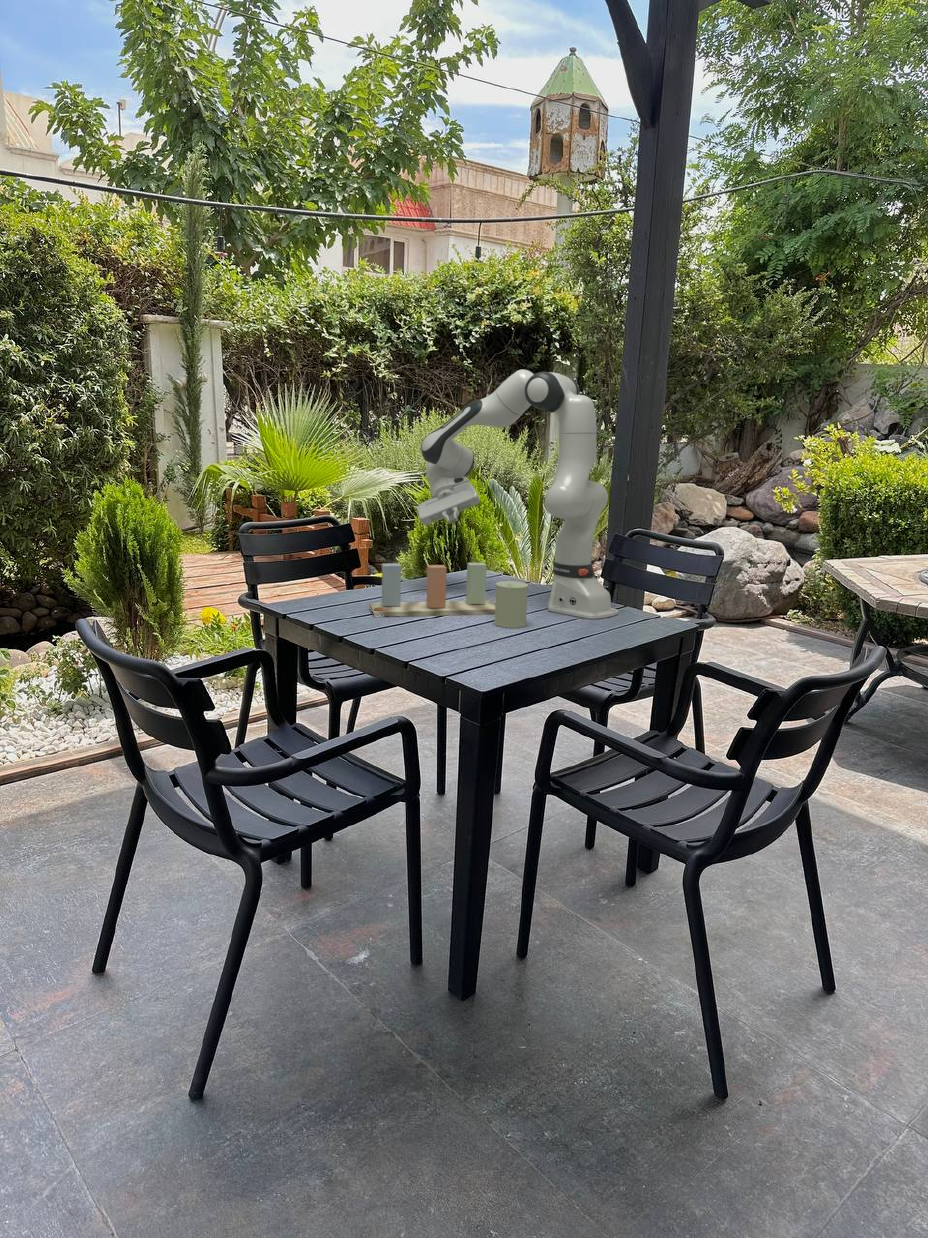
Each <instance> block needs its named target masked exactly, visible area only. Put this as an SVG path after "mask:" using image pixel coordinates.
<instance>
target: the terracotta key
mask: <svg viewBox="0 0 928 1238" xmlns="http://www.w3.org/2000/svg"><path fill="white" fill-rule="evenodd" d="M446 601H447V567H446V566H445V564H428V565H427V566H426V602H427V603H426V605H427V606H428V607H429V608H445V607H446Z"/></svg>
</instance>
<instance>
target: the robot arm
mask: <svg viewBox="0 0 928 1238" xmlns="http://www.w3.org/2000/svg"><path fill="white" fill-rule="evenodd" d="M580 392H581V391H580V387H579V385H578V383H577V381H575V379H573V378H571V376H569V375H568V376H567V375H563V374H561V373H559V372H552V371H549V372H548V371H539V372H537V373H533V372H532V371H530V370H527V369H519V370H516V371H515V372H514V373H512V374H511V375H510V376H508V377H507V378H506V379H505V380H504V381H503V382H502V383H501V384H500V385H499V386H498V387H497V388H496V389H495V390H494V391H493V392H492V393H490V394H488V396H486V397H484V398H481V399H475V400H472V401H471V402H469V403H467V404H466V405H465V406H464V407H463V408H461V409H460V410H459V411H458V412H456V413H455V414H454V415H453V416H452V417H450V418H449V419H448V420H447V421H446V422H444V423H443V424H442V425H440V426H439V427H438V428H437V429H435V430H433V431H430V433H429V434H427V435H426V436H425V437H424V438H423V440H422V442H421V445H420V452H421V455H422V457H423V459H424V461H426V462H427V463H426V478H427V483H428V485H429V488H430V494H431V498H428V499H426V500H425V501H421V502H420V503H419V504H418V505H417V506H416V510H417V513H418V518H419V520H420V523H421V524H422V525H424V526H427V525H430V524H432V523H434V522H437V521H440V520H443V519H444V520H445V521H447V522H448V524H449V525H450V524H454V523H455V522H457V521H459V519H458V517H459V515H460V512H462V511H464V510H467V509H469V508H471V507H472V508H473V507H474V506H476V505H477V506H478V505H479V504H480V502H481V499H480V496H479V494H478V491H477V490H476V488H475V487H474V485H473V484H472V483H471V482H470V480H469V479H468V476H469V475H470V473H471V472H472V471H473V469H474V466H475V454H474V452H473V450H472V449H470V448H468V447H467V446H465V445H463V444H462V443H459V442H458V441H456V440H454V439H455V438H456V437H457V436H459V434H461V433H462V432H463V431H465V430H466V429H467V428H468V427H472V426H486V427H491V428H497V429H498V428H500V429H501V428H507V427H510V426H511V425H513V424H514V423H515V422H517V420H518V419H520V418H521V416H522V415H523V414H524V413H525V412H526V411H527V410H528V409H529V408H530V407H531V406H533V408H536V409H537V410H540V411H543V412H547V413H550V414H553V413H555V415H556V416H557V417H558V422H559V423H558V424H559V425H558V426H559V427H558V428H559V429H558V459H557V461H558V462H557V466H556V471H555V474H554V479H553V481H552V484H551V486H550V487H549V489H548V490H547V491H546V493H545V496H544V505H545V509H546V511H547V512H548V513H549V514H550V515H551V516H552V517H555V518H558V519H562V520H564V522H563V524H562V528H561V529H560V531H559V532H558V534H556V535H557V536H556V539H555V555H554V556H555V557H554V561H553V565H552V574H553V580H552V586H551V590H550V595H549V597H548V598H549V599H548V602H547V604H546V606H547V611H549V612H553V613H558V614H563V615H568V616H573V617H578V618H584V619H589V620H590V619H591V620H592V619H593V620H596V619H605V618H609V617H614V616H616V615H618V614H619V610H618V609H616V608H614V607H612V600H611V594H610V592H609V591H608V590H607V589H606V588H605V587H604V585H602V583H601V582H600V581H599V579H597V577H595V576H596V574H595V573H596V572H598V569H599V568H598V567H594V566H593V563H592V556H593V554H592V553H593V542H594V538H595V537H594V536H595V533H596V529H597V526H598V523H599V519H600V516H601V514H602V513H603V510H604V509H605V508H606V506H607V504H608V501H609V495H608V491H607V489H606V488H605V486H604V485H603V484H601V483H599V482H596V481H593V480H589V476H590V472H591V469H592V467H593V466H594V465H595V462H596V460H597V431H598V429H597V415H596V409H595V404H594V401H593V399H592V398H590V397H589V396H587V395H583V394H581V393H580Z"/></svg>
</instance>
